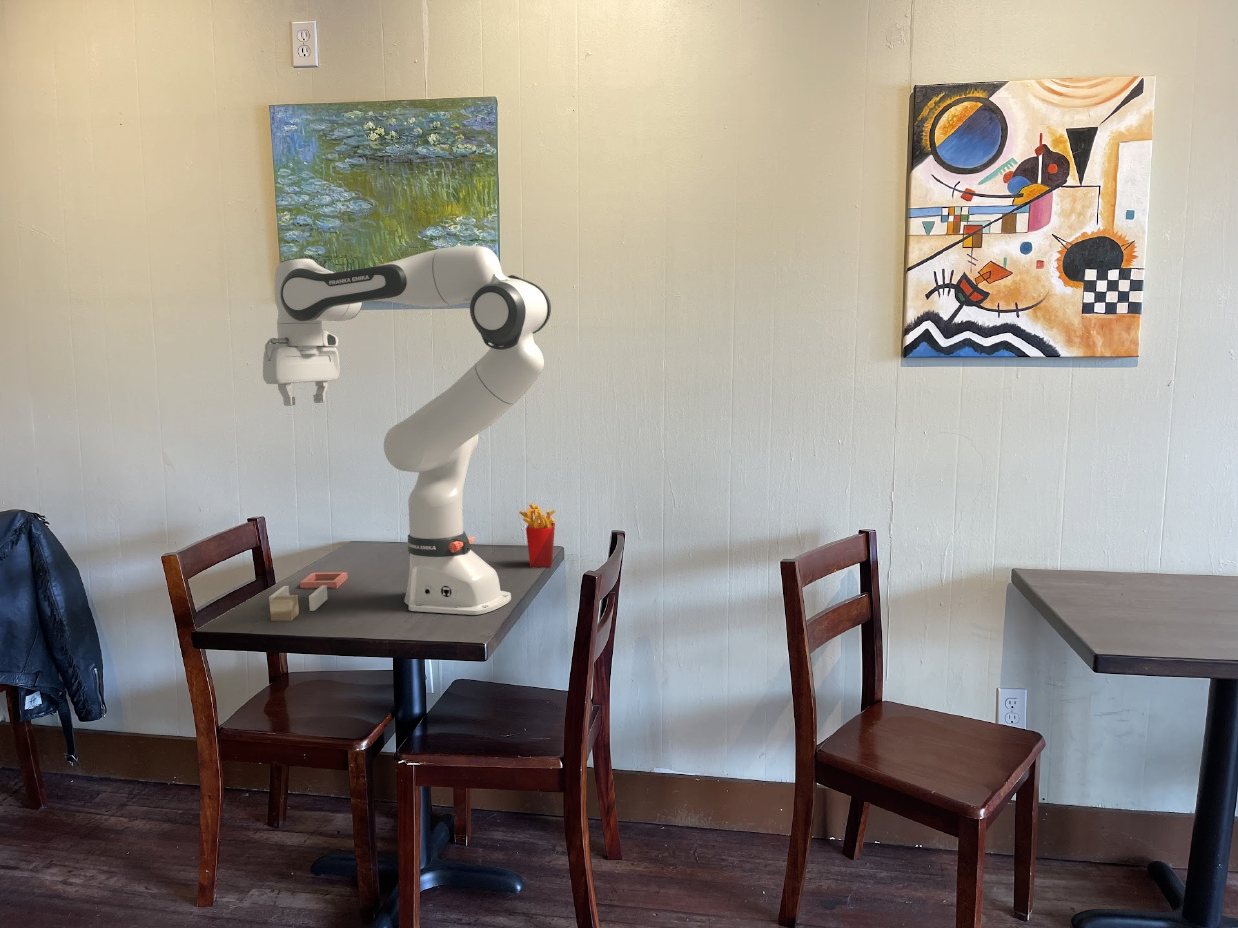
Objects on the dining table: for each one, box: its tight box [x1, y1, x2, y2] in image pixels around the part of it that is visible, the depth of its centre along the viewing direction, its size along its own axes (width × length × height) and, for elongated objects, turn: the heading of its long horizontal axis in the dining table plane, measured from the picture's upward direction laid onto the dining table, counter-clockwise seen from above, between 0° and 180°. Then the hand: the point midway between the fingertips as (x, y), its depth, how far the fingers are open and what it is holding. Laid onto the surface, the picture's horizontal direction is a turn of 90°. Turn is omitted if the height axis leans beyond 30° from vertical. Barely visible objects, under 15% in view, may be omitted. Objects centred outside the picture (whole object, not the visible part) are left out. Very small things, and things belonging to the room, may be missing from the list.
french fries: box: [519, 503, 556, 569], centre depth 206 cm, size 9×8×15 cm
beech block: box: [269, 594, 300, 622], centre depth 169 cm, size 4×4×4 cm
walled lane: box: [268, 585, 328, 612], centre depth 177 cm, size 8×9×3 cm
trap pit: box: [299, 571, 348, 590], centre depth 193 cm, size 8×8×2 cm
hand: (304, 404), depth 181 cm, fingers open, 8 cm apart
